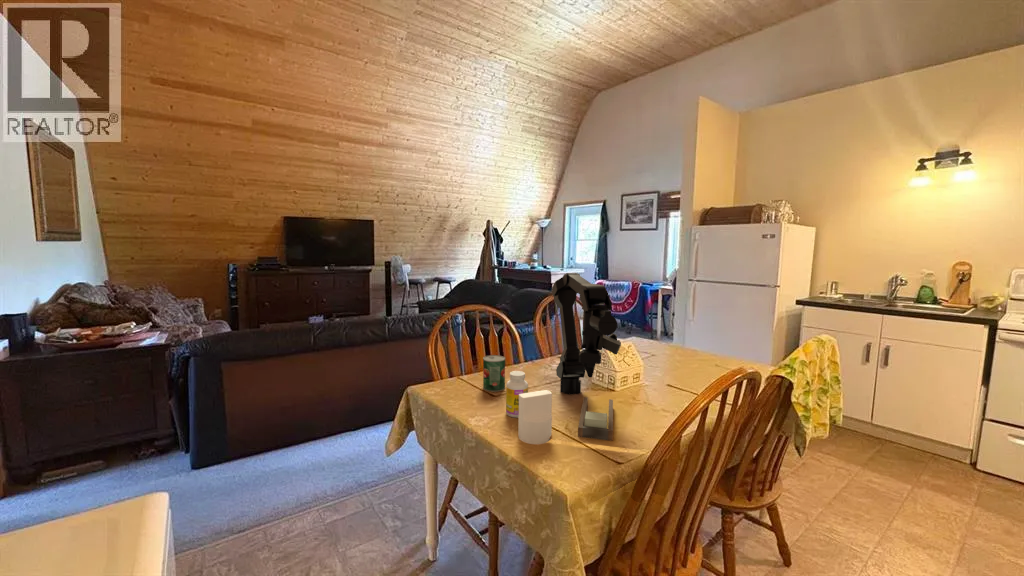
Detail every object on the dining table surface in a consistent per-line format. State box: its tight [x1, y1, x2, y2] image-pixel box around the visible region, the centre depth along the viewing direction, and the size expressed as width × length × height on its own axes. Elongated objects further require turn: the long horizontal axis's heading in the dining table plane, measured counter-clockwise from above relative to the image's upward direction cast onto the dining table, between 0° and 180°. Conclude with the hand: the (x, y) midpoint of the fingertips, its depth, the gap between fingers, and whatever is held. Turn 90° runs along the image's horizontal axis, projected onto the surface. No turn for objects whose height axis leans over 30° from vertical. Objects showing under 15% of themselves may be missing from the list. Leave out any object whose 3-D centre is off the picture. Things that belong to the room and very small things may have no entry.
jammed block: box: [584, 411, 608, 429], centre depth 114 cm, size 6×5×4 cm
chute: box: [577, 396, 614, 442], centre depth 121 cm, size 9×22×4 cm, turn 166°
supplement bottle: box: [505, 370, 529, 419], centre depth 127 cm, size 7×7×13 cm
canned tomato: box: [482, 354, 506, 393], centre depth 150 cm, size 8×8×11 cm
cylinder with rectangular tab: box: [517, 389, 553, 445], centre depth 113 cm, size 9×9×12 cm
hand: (590, 377), depth 127 cm, fingers closed
